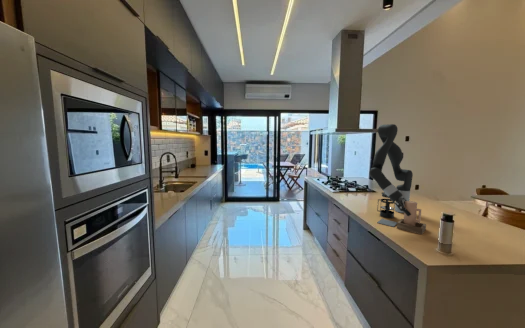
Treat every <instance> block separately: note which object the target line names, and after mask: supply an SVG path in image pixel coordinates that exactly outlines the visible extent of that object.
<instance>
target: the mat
mask: <svg viewBox="0 0 525 328" xmlns="http://www.w3.org/2000/svg"><path fill="white" fill-rule="evenodd" d="M397 222H398V221H397ZM397 222H396V221H392V220H388V219H386V218H385V219H384V218H381V219H380V220H378V221H377V223H376V224H379V225H382V226H386V227H387V226H388V227H392V228H394V227H397Z"/></svg>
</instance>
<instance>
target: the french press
mask: <svg viewBox="0 0 525 328" xmlns="http://www.w3.org/2000/svg"><path fill="white" fill-rule="evenodd" d="M381 197H383V198H379V199H377V203H384V204H385V205H380V206H377V208H376V210H377V212H379V216H380V217H381V218H383V219H384V218H385V219H394V218H395V201H394V202H392V201H391V200H390V198H389V197H388V196H387V195H386V194H385V193H384V191H383V192H381ZM379 201H380V202H379ZM391 204H392V205H393V207H392V206H390V205H391ZM379 207H380V208H379Z"/></svg>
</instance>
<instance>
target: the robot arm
mask: <svg viewBox="0 0 525 328" xmlns="http://www.w3.org/2000/svg"><path fill="white" fill-rule="evenodd" d="M397 126H398V125H396V124H395V123H394V124H393V123H391V124H381V125H379V126H378V128H377V132H378V133H377V134H378V136H379V139H380V140H381V142H382V145H381V146H380V147H379V148H378V149H377V150H376V152H375V154H374V157H373V161H372V166H371V167H370V169H369V173H368V174H369V177H370V178H371V179H372V180H375V182H376V184H377V186H378V187H380V189H381V190H382V191H383V192H384V193H385V194H386V195H387V196H388V197H389V198H388V199H390V200H391V201H390V202H394V201H395V207H394V212H397V213H402V214H404V212H405V214H406V215H407V216H410V215H411V213H410V212H409V211H408V210H406V207H405V206H406V205H405V201H411V200H410V198H411V188H412V183H413V175H414V174H413V171H412V170H411V169H403V168H402V167H401V163H402V161H403V159H404V153H403V152H402V151H403V150H402V149H401V147H400V146H399V145H398V144H397V143H395V142H394V141H395V139H396V137H397V135H398V132H399V130H398V127H397ZM387 156H388V160H389V162H390V164H391V167H392V170H393V174H394V177H395V179H396V181H399V182H403V184H399V185H396V186H395V185H394V184H393V183H392V182H391V180H389V179H388V178H387V176H386V175H385V174H384V172H383V171H382V170H383V167H384V165H385V162H386V159H387Z"/></svg>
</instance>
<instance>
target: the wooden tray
mask: <svg viewBox="0 0 525 328" xmlns="http://www.w3.org/2000/svg"><path fill="white" fill-rule="evenodd" d="M403 221H404V218H401V219H400V220H398V221H397V225H396V229H398V230H403V231H407V232H411V233H414V234H418V235H423V234H424V233H425V231H426V229H427V223H422V222H420V223H419V222H416V224H415V226H411V225H407V224H403Z"/></svg>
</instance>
